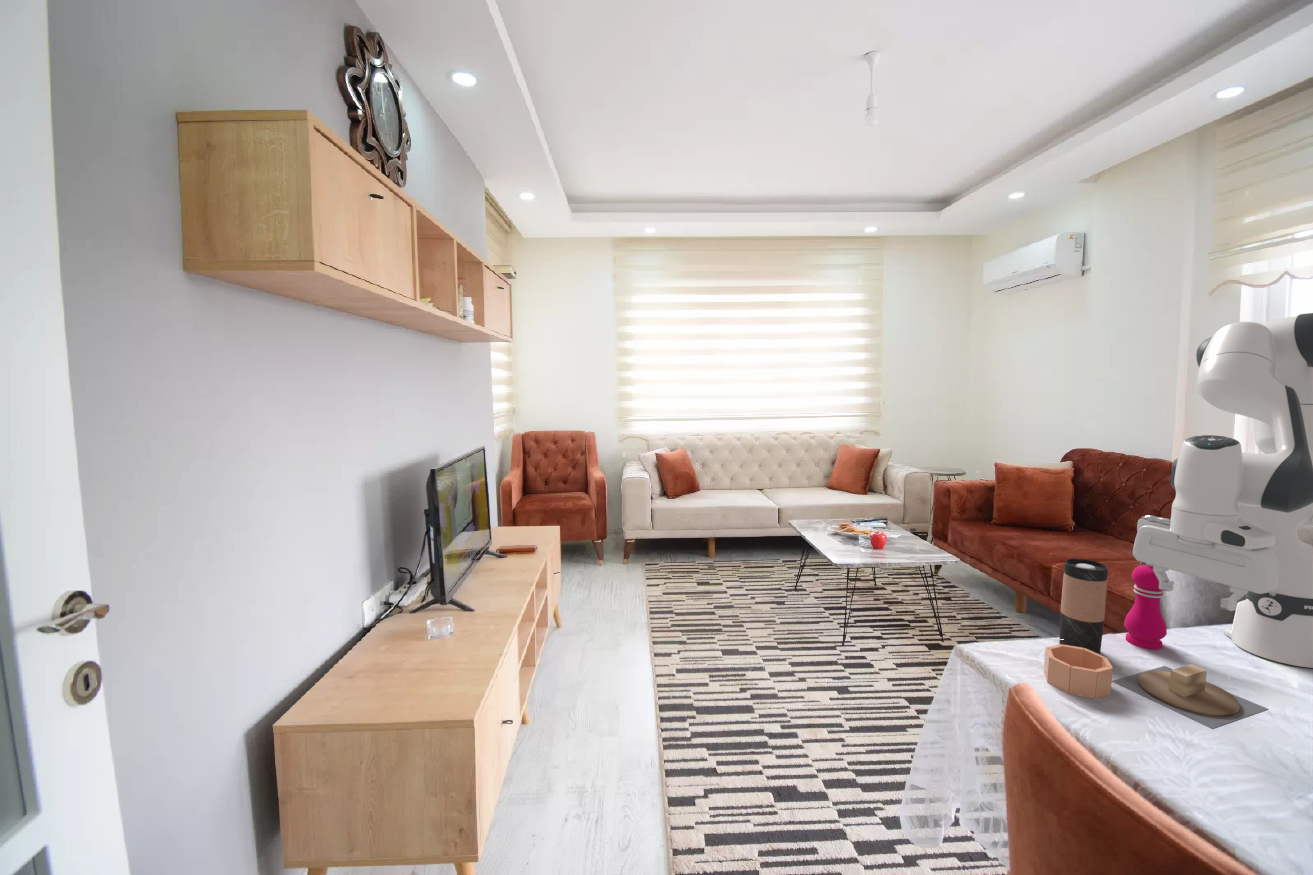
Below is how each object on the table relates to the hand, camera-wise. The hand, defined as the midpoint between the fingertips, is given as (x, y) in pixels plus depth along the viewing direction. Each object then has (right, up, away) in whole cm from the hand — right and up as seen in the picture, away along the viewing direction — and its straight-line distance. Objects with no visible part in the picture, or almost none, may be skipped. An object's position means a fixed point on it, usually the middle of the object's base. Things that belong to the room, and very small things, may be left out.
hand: (1195, 599), depth 106 cm
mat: (0, -19, +2) cm, 19 cm away
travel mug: (-7, -17, +20) cm, 27 cm away
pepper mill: (+9, -17, +22) cm, 29 cm away
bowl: (-17, -19, +7) cm, 26 cm away
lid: (0, -19, +2) cm, 19 cm away
